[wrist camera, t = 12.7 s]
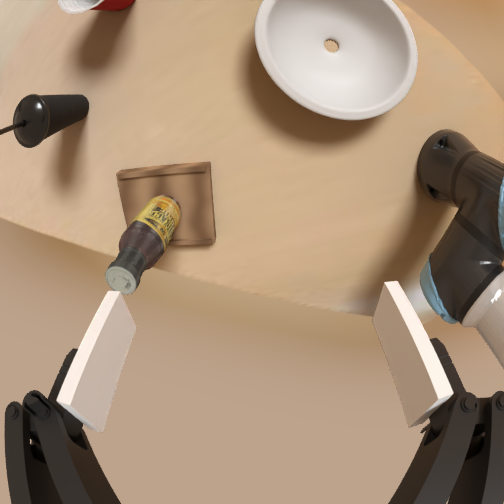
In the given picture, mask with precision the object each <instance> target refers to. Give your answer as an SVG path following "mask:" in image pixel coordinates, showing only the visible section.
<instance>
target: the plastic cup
mask: <svg viewBox="0 0 504 504" xmlns="http://www.w3.org/2000/svg"><path fill="white" fill-rule="evenodd" d="M133 2H134V0H58V4H59V6H60V7H61V9H62V11H65V12H67V13H70V14H75V13H82V12H86V11H88V10H108V11H119V10H122V9H125V8H127V7H128V6H130V5H131V4H132V3H133Z"/></svg>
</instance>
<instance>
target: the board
mask: <svg viewBox="0 0 504 504" xmlns="http://www.w3.org/2000/svg"><path fill="white" fill-rule="evenodd" d="M116 176H117V182H118V187H119V192H120V197H121V201H122V206H123V210H124V215H125V219H126V223H127V228H128V226H129V225H130V223H131V222H132V221H133V220H134V218H135V217H136V216H137V215H138V214H139V212H140V211H141V210H142V209H143V208H144V206H145V205H146V204H147V203H148V202H149V201H150V200H151V199H152V198H154V197H155V196H157V195H164V194H166V195H170V196H171V197H173V198H175V199H176V200H177V201H178V202H179V204H180V206H181V218H180V222H179V224H178V226H177V228H176V230H175V231H174V233H173V236H172V237H171V239H170V241H169V243H168V245H202V244H212V242H215V240H216V231H215V219H214V206H213V193H212V179H211V164H210V162H200V163H186V164H173V165H162V166H152V167H143V168H135V169H127V170H120V171H119V172H118V173H117V174H116Z"/></svg>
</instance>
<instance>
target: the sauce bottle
mask: <svg viewBox="0 0 504 504" xmlns="http://www.w3.org/2000/svg"><path fill="white" fill-rule="evenodd" d="M180 218H181V206H180V204H179V202H178V201H177V200H176V199H175V198H173V197H171V196H170V195H166V194H164V195H157V196H155V197H154V198H152V199H151V200H150V201H149V202H148V203H147V204H146V205H145V206H144V208H143V209H142V210H141V211H140V212H139V214H138V215H137V216H136V217H135V218H134V220H133V221H132V222H131V223H130V225H129V226H128V228H127V229H126V231H125V232H124V233H123V235H122V236H121V239H120V242H119V251H120V252H119V254H118V256H117V258H116V260H115V261H114V262H112V263H111V264H110V266H109V267H108V269H107V271H106V274H105V277H106V278H105V279H106V282H107V284H108V285H109V286H110V287H111V288H112V289H113V290H114V291H120V292H121V294H123V295H128V294H131V293H133V292H134V291H135V290H136V288H137V287H138V285H139V283H140V277H141V275H142V273H143V272H144V271H145V270H147V269H150V268H151V267H153V265H154V264H155V263H156V262H157V260H158V259H159V258H160V257H161V256H162V255H163V253H164V251H165V250H166V248H167V245H168V243H169V241H170V239H171V237H172V236H173V233H174V231H175V230H176V228H177V226H178V224H179V222H180Z"/></svg>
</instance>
